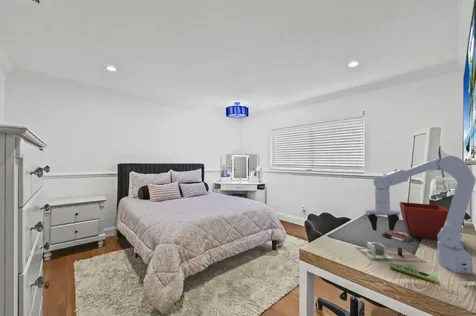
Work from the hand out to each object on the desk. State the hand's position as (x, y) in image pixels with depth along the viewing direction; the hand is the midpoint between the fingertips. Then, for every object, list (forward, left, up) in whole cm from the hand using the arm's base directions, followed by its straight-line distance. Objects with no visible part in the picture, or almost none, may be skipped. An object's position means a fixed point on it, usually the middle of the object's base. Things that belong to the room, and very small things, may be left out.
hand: (382, 230), depth 101 cm
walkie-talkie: (+13, -18, -10) cm, 24 cm away
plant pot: (+24, -36, -10) cm, 44 cm away
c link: (-7, +7, -8) cm, 13 cm away
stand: (-7, +2, -9) cm, 12 cm away
